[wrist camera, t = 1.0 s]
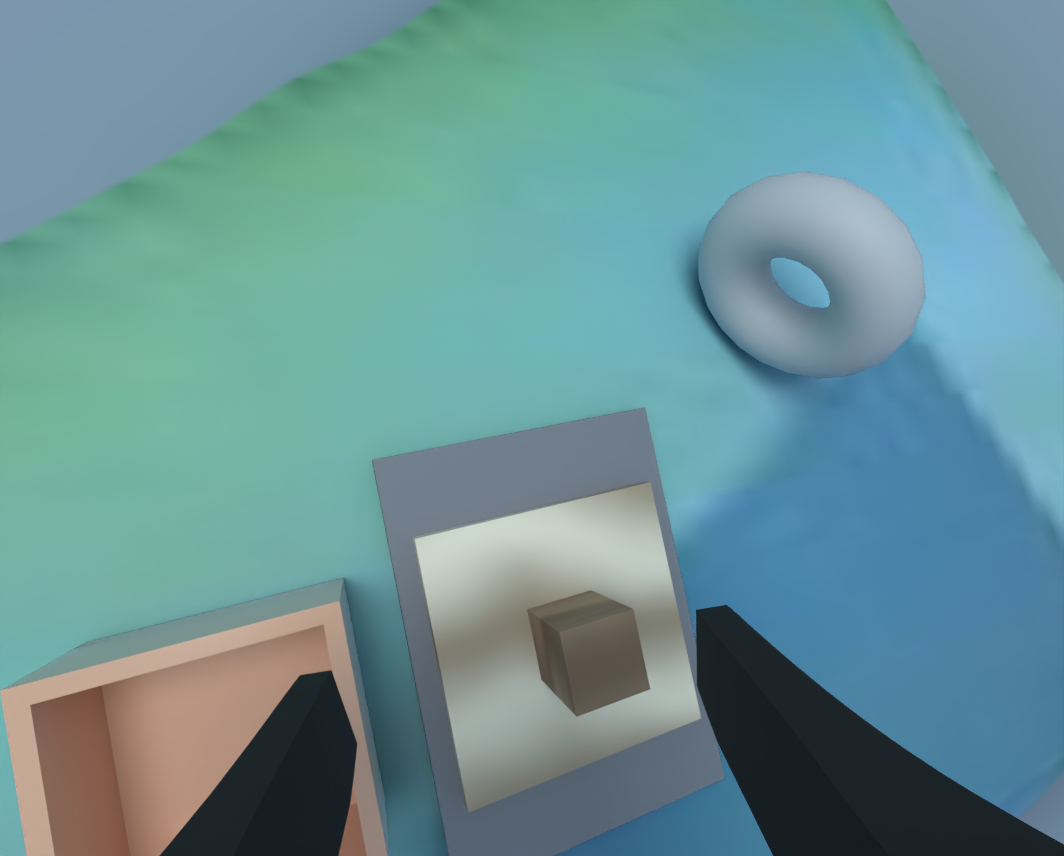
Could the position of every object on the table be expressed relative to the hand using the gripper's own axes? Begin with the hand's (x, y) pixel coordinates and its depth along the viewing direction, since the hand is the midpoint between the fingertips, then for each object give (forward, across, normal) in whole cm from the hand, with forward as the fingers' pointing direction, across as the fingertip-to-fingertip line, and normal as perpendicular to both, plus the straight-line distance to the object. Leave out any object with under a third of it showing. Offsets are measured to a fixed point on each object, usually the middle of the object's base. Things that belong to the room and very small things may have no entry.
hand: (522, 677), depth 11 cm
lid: (+11, -1, +9) cm, 14 cm away
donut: (+21, -13, -1) cm, 25 cm away
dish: (+8, +11, +9) cm, 16 cm away
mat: (+12, -1, +10) cm, 15 cm away
